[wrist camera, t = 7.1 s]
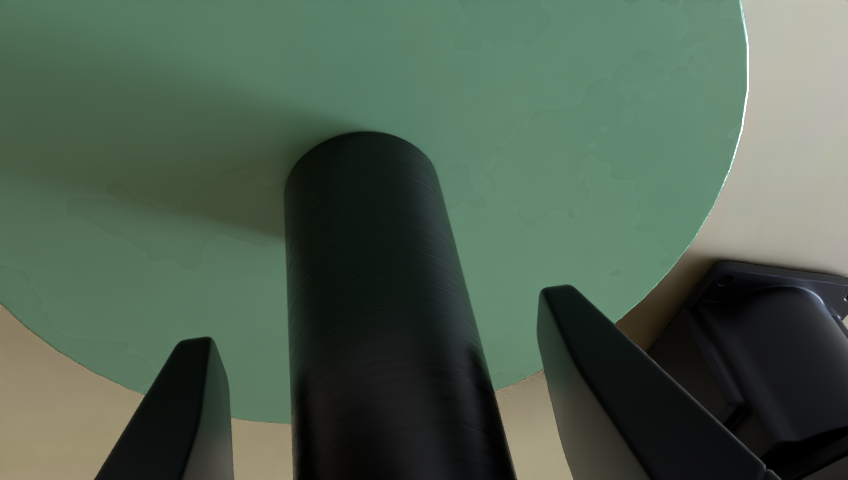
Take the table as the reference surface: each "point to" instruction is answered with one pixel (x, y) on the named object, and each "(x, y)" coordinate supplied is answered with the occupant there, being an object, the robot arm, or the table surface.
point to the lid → (354, 196)
